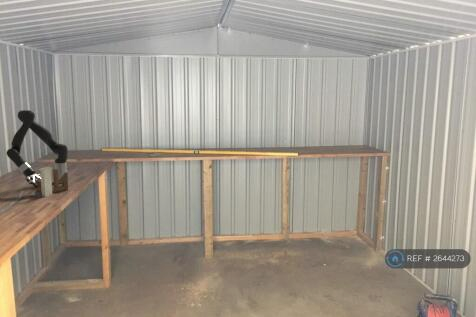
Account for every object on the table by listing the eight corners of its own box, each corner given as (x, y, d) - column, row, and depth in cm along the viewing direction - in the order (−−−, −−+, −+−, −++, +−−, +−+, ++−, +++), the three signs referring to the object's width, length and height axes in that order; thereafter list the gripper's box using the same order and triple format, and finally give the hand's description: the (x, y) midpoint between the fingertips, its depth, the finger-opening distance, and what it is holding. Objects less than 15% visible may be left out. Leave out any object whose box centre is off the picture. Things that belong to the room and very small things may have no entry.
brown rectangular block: (39, 192, 321) (38, 180, 319) (46, 193, 319) (45, 180, 318) (35, 194, 317) (35, 181, 315) (42, 194, 315) (42, 181, 314)
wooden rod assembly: (68, 190, 335) (67, 168, 332) (55, 192, 327) (54, 169, 324) (66, 189, 338) (65, 167, 335) (52, 191, 329) (52, 169, 327)
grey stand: (39, 192, 324) (37, 165, 321) (54, 193, 322) (53, 166, 318) (29, 195, 314) (27, 168, 310) (44, 197, 311) (43, 169, 308)
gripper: (23, 168, 309) (37, 184, 309) (36, 165, 323) (50, 180, 323) (17, 174, 311) (31, 191, 311) (30, 171, 325) (44, 187, 325)
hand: (41, 185), depth 317 cm, fingers open, 8 cm apart
